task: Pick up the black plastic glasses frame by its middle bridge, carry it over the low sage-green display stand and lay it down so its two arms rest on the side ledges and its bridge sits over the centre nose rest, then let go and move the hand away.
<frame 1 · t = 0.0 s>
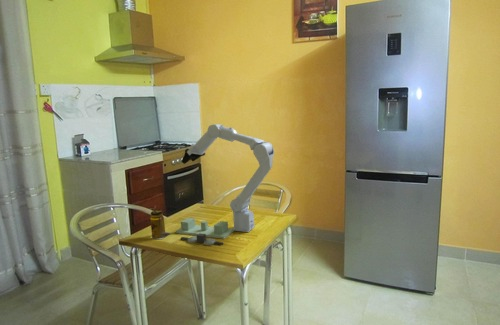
hand: (187, 161, 165), 32 cm above the table, tool tilted 50°, fingers open, 7 cm apart
condiment: (160, 236, 155), on the table
display stand: (204, 231, 156), on the table
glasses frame: (201, 242, 144), on the table
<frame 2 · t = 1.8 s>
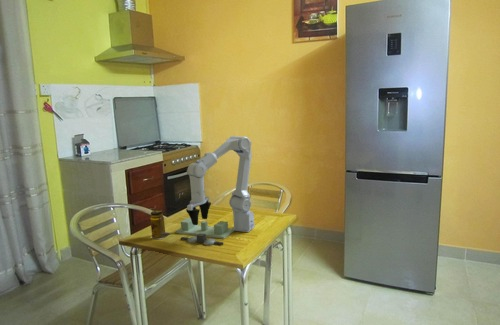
hand: (200, 221, 143), 9 cm above the table, tool pointing down, fingers open, 7 cm apart
nothing on the table moved.
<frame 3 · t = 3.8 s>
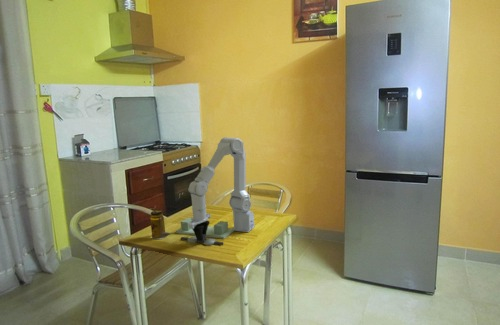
hand: (201, 238, 144), 1 cm above the table, tool pointing down, fingers closed on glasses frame, 2 cm apart
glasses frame: (201, 242, 144), on the table, touching gripper
everything else where it was.
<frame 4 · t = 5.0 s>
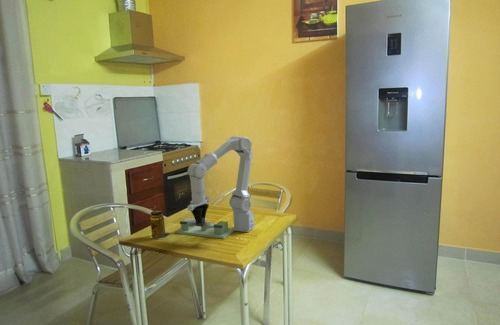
hand: (200, 221, 144), 9 cm above the table, tool pointing down, fingers closed on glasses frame, 2 cm apart
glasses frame: (200, 225, 144), point 7 cm above the table, touching gripper
everything else where it was.
when the fingers open (8 cm above the table, at t = 6.6 s): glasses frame stays where it is, resting on display stand.
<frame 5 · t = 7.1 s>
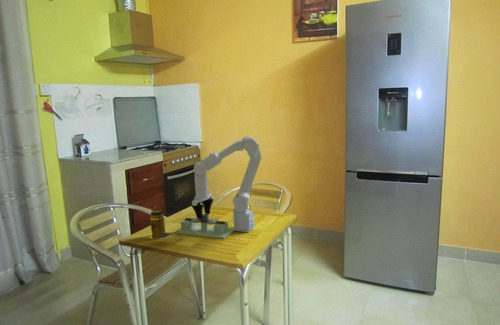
hand: (203, 216, 155), 8 cm above the table, tool pointing down, fingers open, 6 cm apart
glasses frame: (204, 221, 156), point 5 cm above the table, touching display stand
everything else where it was.
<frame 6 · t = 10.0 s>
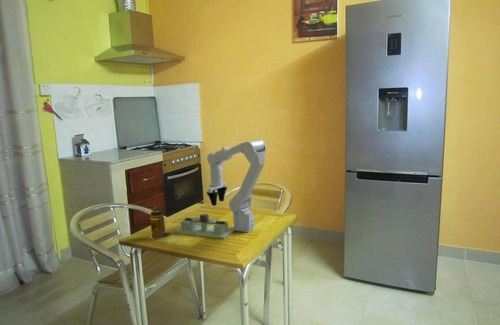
hand: (217, 203, 166), 10 cm above the table, tool pointing down, fingers open, 7 cm apart
nothing on the table moved.
at the end: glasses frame 0.3 cm off-centre on the display stand, point 5.0 cm above the display stand's base; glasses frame tilted 0°; the gripper is holding nothing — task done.
